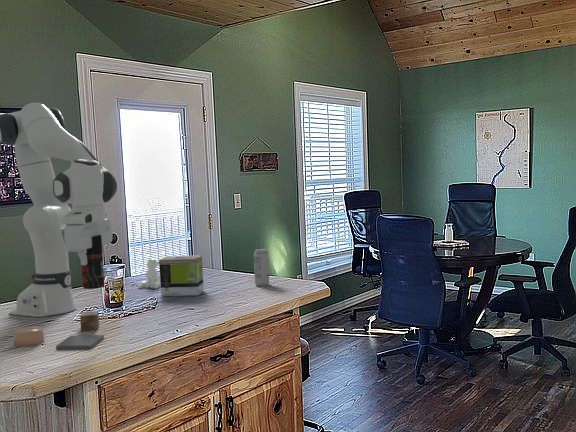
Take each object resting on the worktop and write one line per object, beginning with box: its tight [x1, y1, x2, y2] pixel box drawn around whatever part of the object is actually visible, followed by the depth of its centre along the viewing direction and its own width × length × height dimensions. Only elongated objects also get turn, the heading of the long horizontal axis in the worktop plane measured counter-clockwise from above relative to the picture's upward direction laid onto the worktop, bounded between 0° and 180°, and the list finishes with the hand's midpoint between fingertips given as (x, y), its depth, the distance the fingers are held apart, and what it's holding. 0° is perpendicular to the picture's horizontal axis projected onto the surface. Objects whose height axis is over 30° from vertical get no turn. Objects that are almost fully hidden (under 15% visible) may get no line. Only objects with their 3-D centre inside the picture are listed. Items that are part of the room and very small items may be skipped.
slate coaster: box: [55, 334, 105, 350], centre depth 167 cm, size 10×10×1 cm
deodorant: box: [81, 235, 106, 290], centre depth 169 cm, size 6×6×15 cm
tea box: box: [158, 254, 204, 297], centre depth 230 cm, size 15×10×15 cm, turn 84°
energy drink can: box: [253, 248, 270, 287], centre depth 242 cm, size 6×6×15 cm
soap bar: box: [12, 325, 45, 348], centre depth 170 cm, size 8×8×4 cm
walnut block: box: [79, 310, 100, 333], centre depth 183 cm, size 5×5×5 cm
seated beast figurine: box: [137, 258, 161, 290], centre depth 246 cm, size 10×9×12 cm
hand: (91, 262), depth 169 cm, fingers closed on deodorant, 6 cm apart
